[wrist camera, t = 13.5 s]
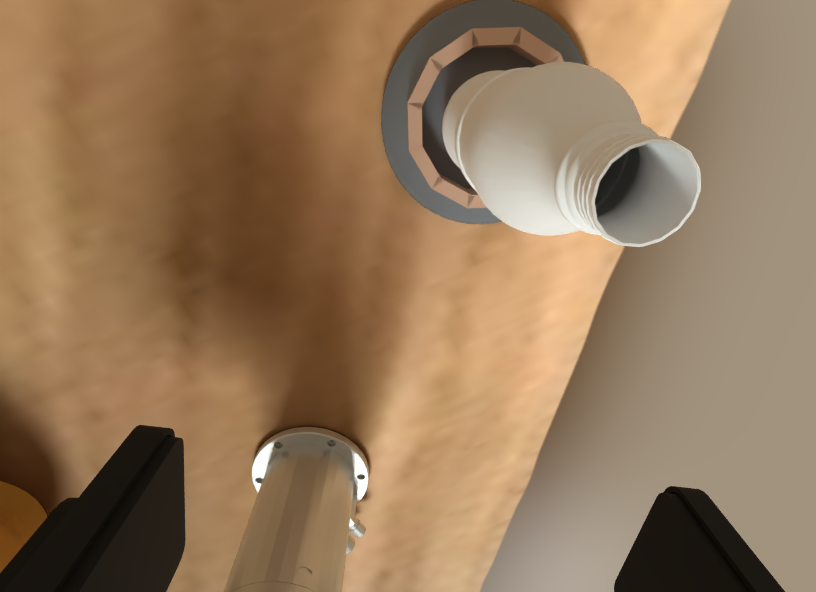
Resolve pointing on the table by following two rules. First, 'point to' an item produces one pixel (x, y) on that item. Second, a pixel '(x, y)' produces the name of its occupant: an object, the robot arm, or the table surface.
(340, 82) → the table surface
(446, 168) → the ring plate
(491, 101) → the water bottle
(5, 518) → the decorative bowl
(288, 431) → the robot arm
